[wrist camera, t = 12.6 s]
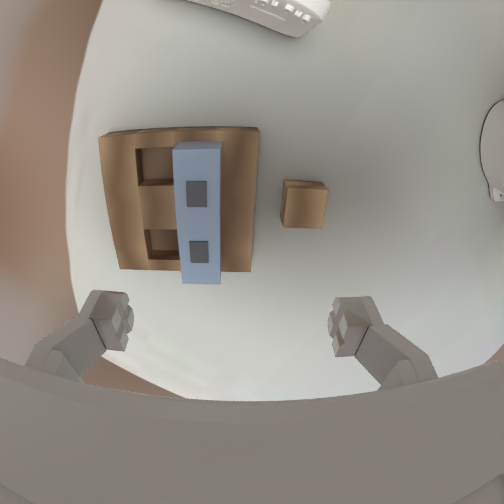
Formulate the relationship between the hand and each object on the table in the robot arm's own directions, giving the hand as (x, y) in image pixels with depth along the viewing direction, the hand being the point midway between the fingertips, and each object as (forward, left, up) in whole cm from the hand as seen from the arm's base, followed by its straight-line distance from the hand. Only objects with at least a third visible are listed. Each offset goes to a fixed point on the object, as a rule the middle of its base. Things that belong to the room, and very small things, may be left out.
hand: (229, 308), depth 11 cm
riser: (-8, +5, -22) cm, 24 cm away
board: (+6, +5, -22) cm, 23 cm away
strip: (+3, +5, -21) cm, 21 cm away
